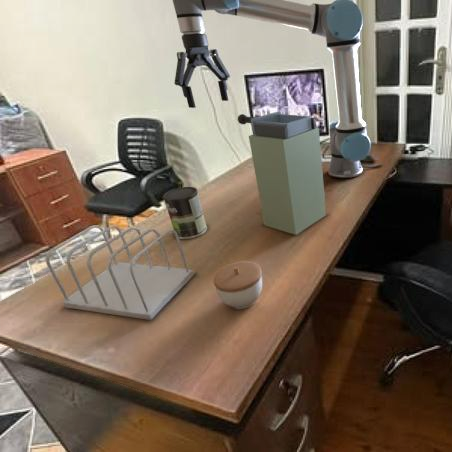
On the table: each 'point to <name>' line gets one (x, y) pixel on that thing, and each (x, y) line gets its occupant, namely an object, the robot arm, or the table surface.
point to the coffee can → (185, 212)
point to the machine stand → (288, 177)
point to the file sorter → (125, 279)
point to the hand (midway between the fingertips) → (209, 104)
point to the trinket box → (239, 284)
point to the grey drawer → (280, 122)
